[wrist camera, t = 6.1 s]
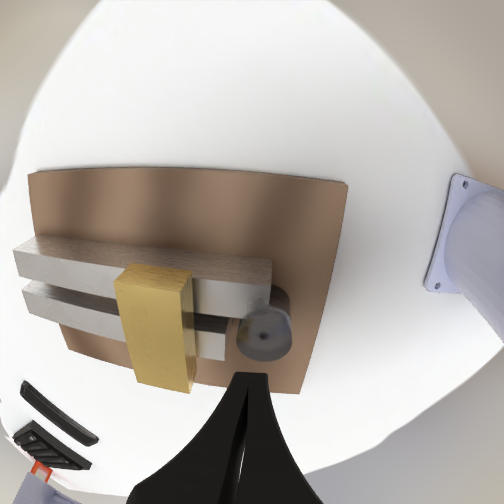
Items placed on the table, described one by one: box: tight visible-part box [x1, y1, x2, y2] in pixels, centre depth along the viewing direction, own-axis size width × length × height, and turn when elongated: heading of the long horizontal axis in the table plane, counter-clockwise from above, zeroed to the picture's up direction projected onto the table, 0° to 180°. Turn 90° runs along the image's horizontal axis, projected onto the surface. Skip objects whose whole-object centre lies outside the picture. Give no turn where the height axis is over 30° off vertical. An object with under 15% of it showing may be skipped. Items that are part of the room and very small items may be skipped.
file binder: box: [31, 460, 52, 483], centre depth 50 cm, size 8×17×32 cm, turn 138°
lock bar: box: [113, 263, 197, 394], centre depth 13 cm, size 3×6×2 cm, turn 176°
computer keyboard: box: [12, 420, 92, 470], centre depth 44 cm, size 45×16×4 cm, turn 131°
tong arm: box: [22, 280, 232, 361], centre depth 16 cm, size 15×2×3 cm, turn 86°
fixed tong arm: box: [13, 234, 292, 362], centre depth 15 cm, size 18×4×4 cm, turn 86°
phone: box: [20, 381, 99, 447], centre depth 31 cm, size 8×1×15 cm
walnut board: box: [28, 167, 348, 394], centre depth 18 cm, size 21×16×1 cm
